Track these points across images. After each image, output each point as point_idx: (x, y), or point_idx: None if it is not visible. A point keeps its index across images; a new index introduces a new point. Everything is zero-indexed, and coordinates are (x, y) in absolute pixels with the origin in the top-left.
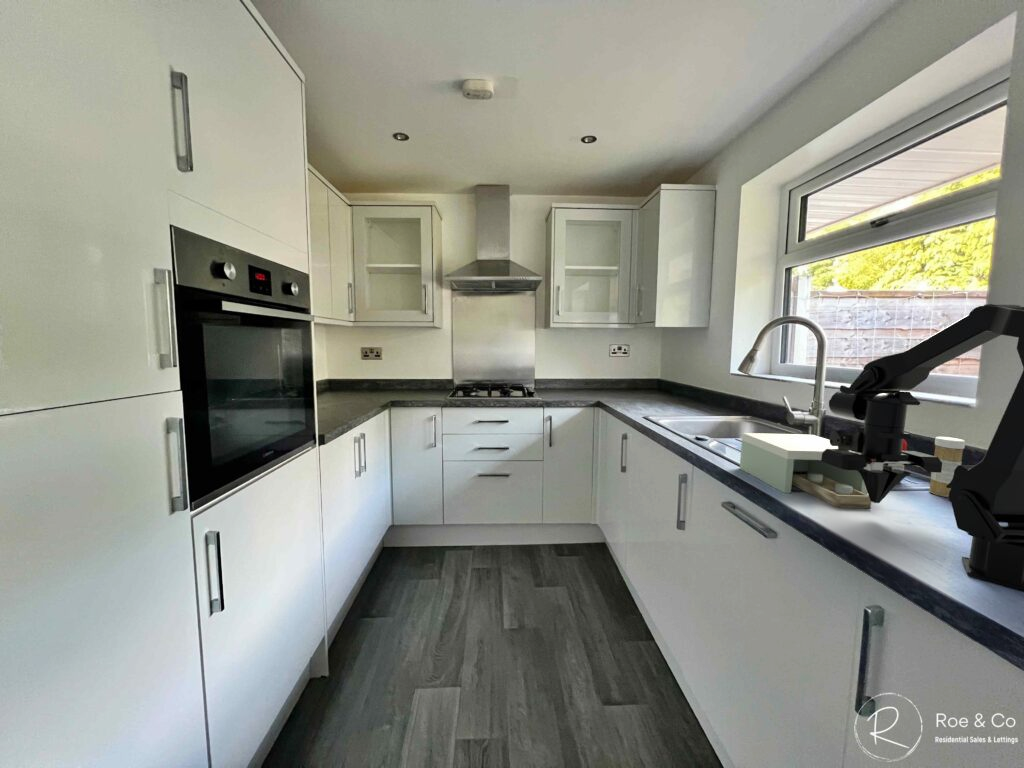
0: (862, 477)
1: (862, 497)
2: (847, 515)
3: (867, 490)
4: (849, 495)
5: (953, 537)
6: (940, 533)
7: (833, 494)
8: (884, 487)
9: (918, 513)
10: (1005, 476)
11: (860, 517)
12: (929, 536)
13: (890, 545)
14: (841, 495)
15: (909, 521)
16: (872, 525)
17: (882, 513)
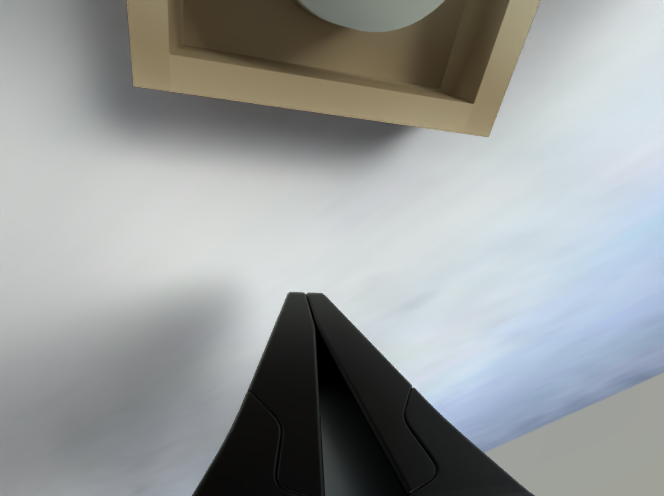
0: (201, 484)
1: (403, 119)
2: (120, 217)
3: (268, 347)
4: (282, 93)
5: None
6: (420, 378)
7: (129, 3)
8: (330, 486)
9: (627, 204)
10: None
11: (194, 246)
12: None
13: (74, 468)
14: (179, 84)
15: (438, 289)
16: (169, 333)
17: (417, 196)
